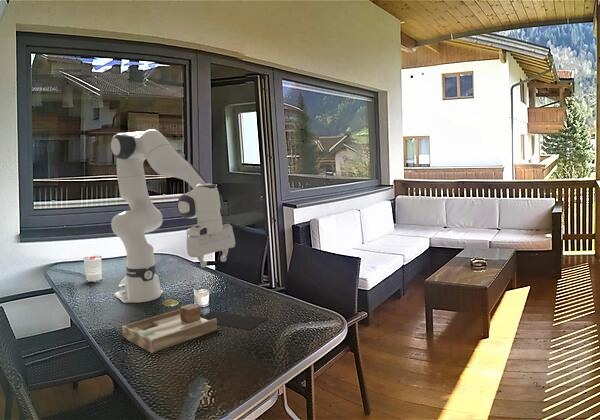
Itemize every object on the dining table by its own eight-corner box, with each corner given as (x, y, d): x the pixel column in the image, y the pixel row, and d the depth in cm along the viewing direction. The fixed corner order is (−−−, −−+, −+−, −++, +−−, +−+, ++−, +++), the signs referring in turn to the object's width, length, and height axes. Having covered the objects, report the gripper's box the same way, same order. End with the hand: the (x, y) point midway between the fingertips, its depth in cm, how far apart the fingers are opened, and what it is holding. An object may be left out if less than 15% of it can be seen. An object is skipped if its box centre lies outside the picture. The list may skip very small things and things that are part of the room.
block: (180, 320, 169) (179, 306, 169) (192, 316, 173) (191, 303, 172) (188, 323, 166) (187, 309, 165) (200, 319, 169) (199, 306, 169)
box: (122, 337, 161) (122, 326, 161) (186, 317, 179) (185, 307, 179) (151, 353, 148) (150, 340, 147) (217, 329, 166) (216, 318, 165)
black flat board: (250, 329, 165) (182, 318, 178) (250, 331, 165) (183, 319, 178) (267, 318, 175) (203, 308, 189) (267, 319, 176) (203, 309, 189)
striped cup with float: (82, 280, 237) (80, 257, 235) (99, 277, 242) (97, 254, 241) (89, 284, 229) (87, 260, 228) (106, 280, 235) (104, 257, 233)
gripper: (226, 222, 183) (229, 257, 184) (182, 231, 167) (186, 269, 169) (237, 223, 179) (240, 258, 180) (193, 232, 163) (197, 271, 165)
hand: (214, 264), depth 175 cm, fingers open, 8 cm apart
